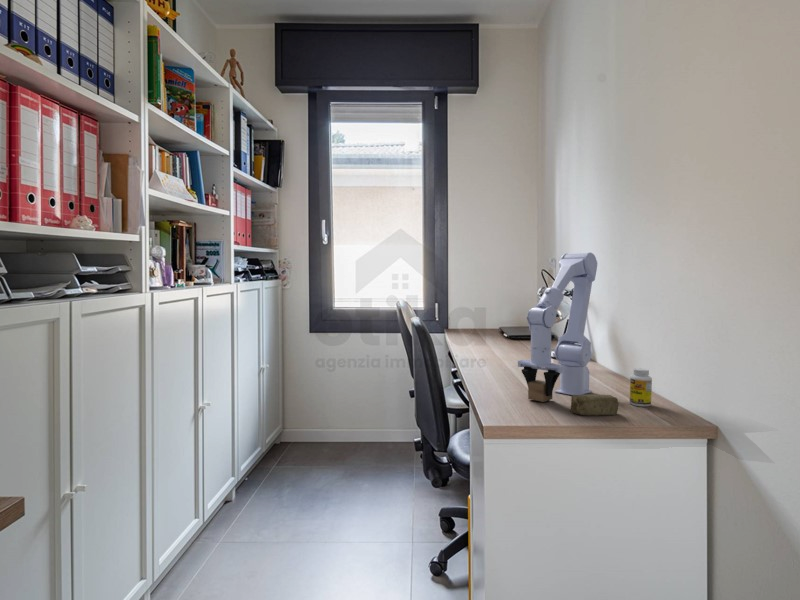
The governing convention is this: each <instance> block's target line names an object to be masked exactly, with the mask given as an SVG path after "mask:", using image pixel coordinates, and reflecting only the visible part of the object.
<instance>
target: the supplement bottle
mask: <svg viewBox="0 0 800 600" xmlns="http://www.w3.org/2000/svg"><path fill="white" fill-rule="evenodd" d="M632 372H633V374H631V375H630V378H629V379H630V383H629V403H630V405H633V406H635V407H643V408H644V407H650V406H651V405H652V389H653V387H652V386H653V378H652V377H651V376H650V369H647V368H641V367H636V368H633V371H632Z"/></svg>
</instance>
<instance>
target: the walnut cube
mask: <svg viewBox="0 0 800 600" xmlns="http://www.w3.org/2000/svg"><path fill="white" fill-rule="evenodd" d="M527 397H528V398H527V399H528V400H531V401H537V402H542V403H544V402H547V401H551V400H553V394H552V395H551V396H546V383H545V380H542V379H540V380H539V379H536V380H535V381H531V382H528V385H527Z"/></svg>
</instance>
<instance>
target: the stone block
mask: <svg viewBox="0 0 800 600" xmlns="http://www.w3.org/2000/svg"><path fill="white" fill-rule="evenodd" d="M570 402H571V403H570V412H571V413H573V414H576V415H580V416H616V415H617V414H618V410H619V399H618V398H617V397H615V396H613V395H611V394H583V395H571V401H570Z"/></svg>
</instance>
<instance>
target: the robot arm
mask: <svg viewBox="0 0 800 600" xmlns="http://www.w3.org/2000/svg"><path fill="white" fill-rule="evenodd" d="M558 267H559V271H558V272H557V275H556V277H555V279H554V281H553V283H552V286H551V287H547V288H546V289H545V290H544V292H543V294H542V295H541V298H540V299H539V300H538V302H537V304H536V305H535V306H534V307H532V308H531V309H529V311H528V313H527V316H526V322H527V324H528V327H529V328H528V330H529V332H530V360H527V359H526V360H525V359H519V360H517V367H518V368H522V369H521V373H522V375H523V377H524V379H525V381H526V385H527V386H528V382H531V381H535V380H537V374H538V370H542V371H544V372H543V376H544V381H545V383H546V396H551V395H552V396H553V391H554V392H555V393H559V394H565V395H570V396H572V395H587V394H589V393H592V391H593V390H591V389H590V369H589V368H588V366H587V365H588V363H589V362H590V361H591V359H592V349H591V348H592V347H591V346H592V342H591V340H589V339H588V338H587V337H586V335H585V330H586V323H587V317H588V310H589V304H590V299H591V294H592V293H591V292H592V285H593V282H595V280H596V275H597V271H598V260H597V257H596V255H595V254H594V253H593V252H585V253H582V252H581V253H579V252H578V253H563V254H562V256H561V257H560V259H559V261H558ZM571 282H572V283H573V291H572V298H571V304H570V309H569V316H568V321H567V322H568V323H567V329H566V332H565V333H563V335H562V334H561V336H559V337H558V341H557V344H556V346H555V348H554V357H555V360H556V361H558V364H557V363H554V362H552V327H553V326H555V324H556V321H557V315H558V310H559V308H560V305H561V304H562V302H563V300H564V294H563V292H564V290H565V289H566V288H567V286H568V285H569V284H570V283H571ZM559 377H560V381H559V385H560V386H559V389H555V390H554V388H555V385H556V383H557V380H558V379H559Z"/></svg>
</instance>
